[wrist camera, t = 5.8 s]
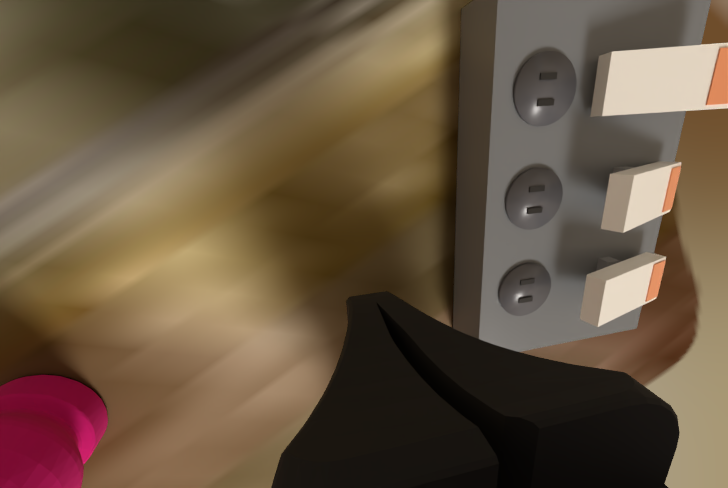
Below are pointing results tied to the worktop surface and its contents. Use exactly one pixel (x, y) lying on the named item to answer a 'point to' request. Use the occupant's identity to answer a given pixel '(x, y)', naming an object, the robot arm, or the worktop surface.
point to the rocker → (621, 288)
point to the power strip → (550, 160)
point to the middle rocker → (639, 195)
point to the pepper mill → (48, 431)
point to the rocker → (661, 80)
